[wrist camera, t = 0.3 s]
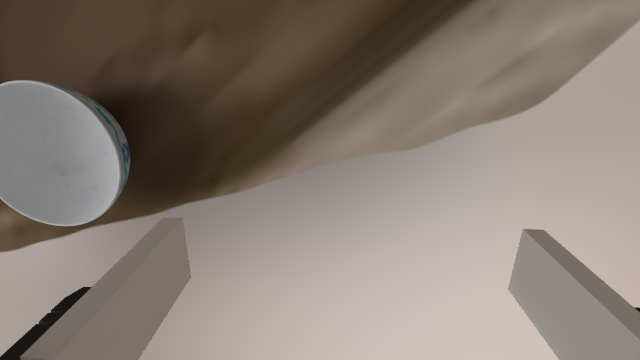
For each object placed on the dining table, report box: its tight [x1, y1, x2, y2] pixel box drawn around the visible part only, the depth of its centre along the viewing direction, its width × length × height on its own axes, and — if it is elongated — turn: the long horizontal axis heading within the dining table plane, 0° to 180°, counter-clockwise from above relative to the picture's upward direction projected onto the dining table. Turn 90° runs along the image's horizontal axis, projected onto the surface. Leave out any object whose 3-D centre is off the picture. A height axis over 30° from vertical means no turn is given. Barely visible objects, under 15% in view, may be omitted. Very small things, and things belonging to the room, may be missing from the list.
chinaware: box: [0, 80, 130, 226], centre depth 38 cm, size 15×15×8 cm
